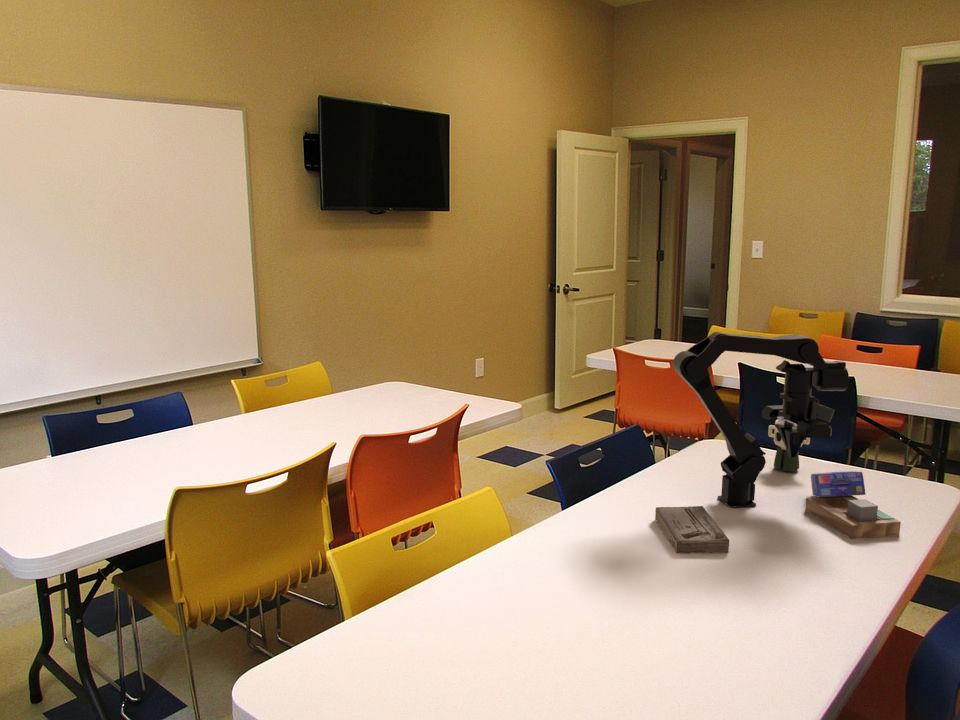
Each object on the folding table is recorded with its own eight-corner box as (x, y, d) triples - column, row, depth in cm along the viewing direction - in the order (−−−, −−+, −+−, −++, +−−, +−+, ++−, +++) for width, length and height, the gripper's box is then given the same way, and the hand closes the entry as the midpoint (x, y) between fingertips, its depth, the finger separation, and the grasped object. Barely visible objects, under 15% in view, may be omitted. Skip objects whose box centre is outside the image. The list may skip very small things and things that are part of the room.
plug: (858, 534, 154) (861, 507, 153) (845, 527, 158) (848, 500, 157) (875, 533, 155) (878, 505, 154) (862, 525, 159) (864, 499, 158)
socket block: (851, 539, 152) (853, 524, 151) (805, 510, 167) (806, 496, 167) (899, 535, 154) (900, 520, 153) (849, 507, 169) (850, 493, 169)
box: (701, 518, 162) (702, 504, 162) (730, 554, 145) (730, 539, 145) (653, 519, 162) (653, 506, 161) (676, 556, 145) (676, 541, 145)
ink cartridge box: (854, 469, 175) (865, 471, 161) (858, 493, 174) (869, 497, 160) (809, 472, 178) (816, 474, 164) (812, 495, 177) (819, 499, 163)
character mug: (760, 468, 197) (763, 420, 195) (771, 462, 202) (774, 415, 200) (801, 477, 189) (805, 428, 187) (812, 471, 194) (816, 423, 192)
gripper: (856, 398, 160) (850, 468, 163) (805, 381, 178) (800, 443, 181) (809, 400, 158) (804, 470, 161) (762, 382, 176) (758, 446, 179)
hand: (792, 457), depth 170 cm, fingers closed
